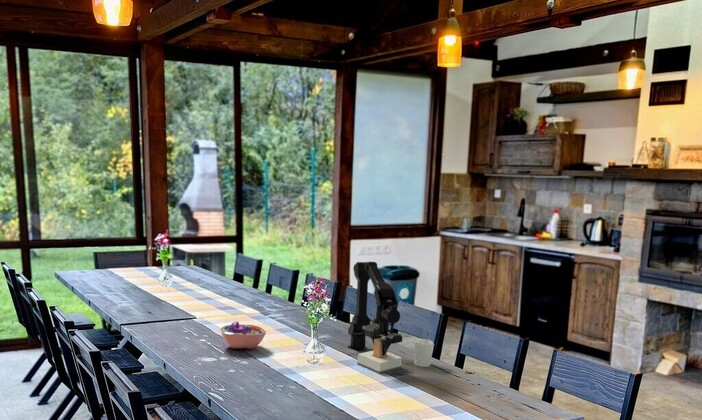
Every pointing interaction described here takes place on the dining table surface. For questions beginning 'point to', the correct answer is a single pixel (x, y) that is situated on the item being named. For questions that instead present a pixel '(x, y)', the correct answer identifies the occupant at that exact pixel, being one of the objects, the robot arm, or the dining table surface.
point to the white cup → (422, 352)
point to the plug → (378, 348)
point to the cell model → (242, 335)
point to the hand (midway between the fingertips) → (380, 354)
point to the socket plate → (379, 362)
